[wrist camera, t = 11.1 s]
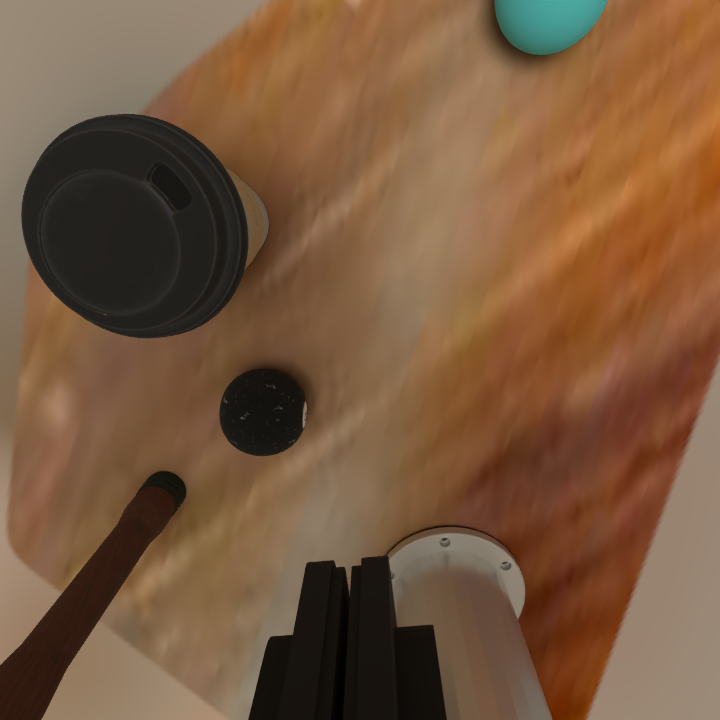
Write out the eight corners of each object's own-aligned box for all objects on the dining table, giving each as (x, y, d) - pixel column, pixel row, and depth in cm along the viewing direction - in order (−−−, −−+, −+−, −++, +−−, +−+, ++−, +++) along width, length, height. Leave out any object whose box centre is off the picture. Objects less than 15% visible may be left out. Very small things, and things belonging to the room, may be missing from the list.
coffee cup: (314, 184, 33) (270, 169, 19) (266, 311, 36) (195, 382, 22) (179, 123, 32) (27, 60, 18) (140, 258, 35) (-20, 296, 21)
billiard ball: (232, 355, 37) (206, 383, 31) (312, 361, 37) (302, 390, 31) (233, 429, 39) (209, 468, 33) (310, 434, 39) (299, 474, 33)
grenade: (208, 470, 40) (-208, 1137, 11) (192, 526, 42) (-206, 1234, 13) (139, 449, 40) (-472, 1086, 11) (125, 507, 41) (-435, 1192, 13)
